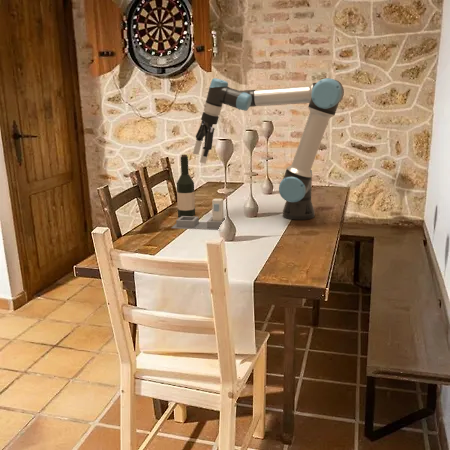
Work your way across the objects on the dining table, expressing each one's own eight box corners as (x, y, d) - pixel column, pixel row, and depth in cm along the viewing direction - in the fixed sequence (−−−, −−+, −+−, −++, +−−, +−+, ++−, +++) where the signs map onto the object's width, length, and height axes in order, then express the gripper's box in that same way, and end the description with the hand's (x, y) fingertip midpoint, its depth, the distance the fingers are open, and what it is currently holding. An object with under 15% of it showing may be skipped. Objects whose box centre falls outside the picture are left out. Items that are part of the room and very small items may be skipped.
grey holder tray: (234, 225, 223) (234, 216, 222) (228, 232, 212) (228, 223, 211) (179, 223, 228) (178, 214, 227) (170, 230, 217) (170, 221, 216)
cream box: (223, 225, 220) (223, 198, 217) (221, 228, 215) (220, 201, 212) (215, 224, 221) (214, 198, 217) (212, 227, 216) (211, 200, 213)
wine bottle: (198, 216, 240) (196, 154, 232) (186, 220, 234) (183, 156, 226) (187, 214, 245) (184, 153, 238) (174, 217, 240) (171, 155, 232)
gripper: (196, 106, 233) (185, 149, 240) (210, 118, 211) (197, 165, 218) (211, 109, 236) (200, 152, 243) (226, 122, 214) (213, 168, 221)
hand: (198, 158), depth 231 cm, fingers open, 13 cm apart
